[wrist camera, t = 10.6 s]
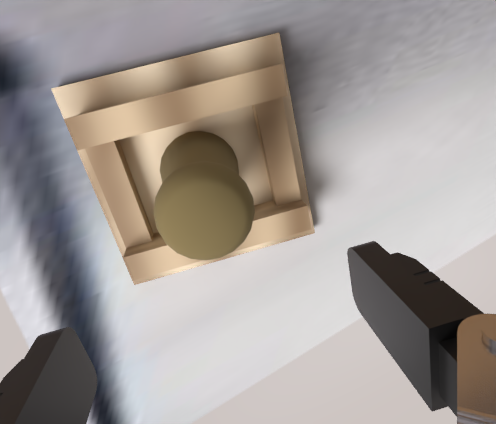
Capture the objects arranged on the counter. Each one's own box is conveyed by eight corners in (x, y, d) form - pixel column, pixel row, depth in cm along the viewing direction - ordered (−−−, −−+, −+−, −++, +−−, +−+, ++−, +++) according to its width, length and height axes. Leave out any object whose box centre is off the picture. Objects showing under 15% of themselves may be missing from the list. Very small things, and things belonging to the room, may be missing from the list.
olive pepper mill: (161, 208, 27) (144, 281, 17) (158, 129, 25) (137, 159, 15) (237, 207, 28) (264, 276, 18) (240, 131, 26) (272, 161, 16)
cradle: (275, 34, 25) (290, 25, 22) (310, 228, 31) (327, 248, 27) (56, 88, 24) (32, 89, 20) (136, 278, 30) (128, 305, 26)
